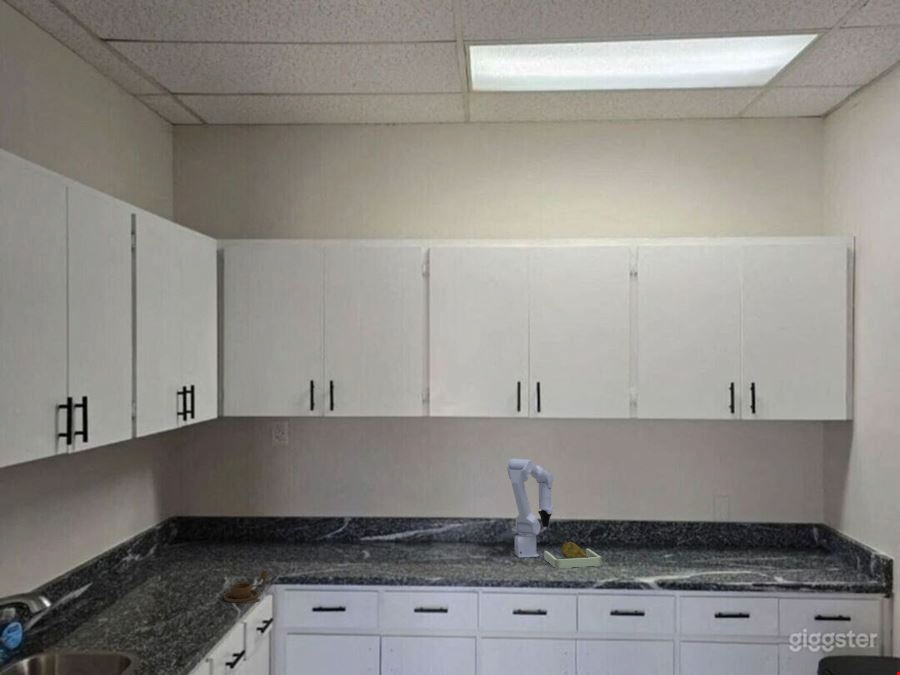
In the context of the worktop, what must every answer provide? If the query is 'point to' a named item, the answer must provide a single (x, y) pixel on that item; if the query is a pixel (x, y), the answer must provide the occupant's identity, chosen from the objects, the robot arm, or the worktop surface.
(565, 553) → the potato
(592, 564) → the pale green rail frame
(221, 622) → the worktop surface
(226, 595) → the place setting
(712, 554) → the worktop surface
